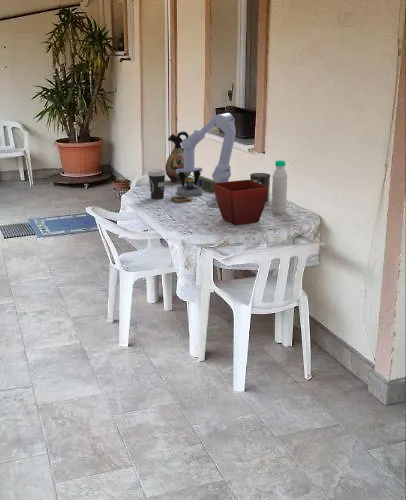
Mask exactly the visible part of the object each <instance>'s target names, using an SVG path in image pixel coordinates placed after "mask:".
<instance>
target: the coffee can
mask: <svg viewBox="0 0 406 500" xmlns="http://www.w3.org/2000/svg"><path fill="white" fill-rule="evenodd" d="M249 176H250V179H249V180H252V181H255V182H257V183H260V184H262V185H265V186H267V187H268V193H267V198H266V202H265V204H268V203H270V193H271V192H270V190H271V189H270V186H271V174H270V173H265V172H253V173H250V174H249Z"/></svg>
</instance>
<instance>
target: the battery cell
mask: <svg viewBox="0 0 406 500" xmlns="http://www.w3.org/2000/svg"><path fill="white" fill-rule="evenodd" d="M193 185H194V177H192V176H189V177H188V178H186V182H185V186H186V190H193Z"/></svg>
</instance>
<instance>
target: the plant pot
mask: <svg viewBox="0 0 406 500" xmlns="http://www.w3.org/2000/svg"><path fill="white" fill-rule="evenodd" d="M214 191H215V192H214V196H215V195H216V199H215V200H216V203H217V206H218V210H219V212H220V215H221V218H222V220H224V221H226V222H228V223H229V224H230V225H233V226H239V225H241V226H242V225H247V224H256V223H259V222H260V220H261V217H262V214H263V212H264V209H265V205H266V203H265V202H266V198H267V193H268V187H267V186H265V185H262V184H260V183H257V182H255V181H252V180H250V179H241V180H231V181H228V182H221V183H214Z"/></svg>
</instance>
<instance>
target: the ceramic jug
mask: <svg viewBox="0 0 406 500" xmlns="http://www.w3.org/2000/svg"><path fill="white" fill-rule="evenodd" d="M181 136H185V138H188V136H189V134H188V132H186V131H183V130H182V131H179V132H178V133H177V135H175V134H174V133H172V134H170V135H169V136H168V138H167V140H168V141H169V142H172V143H174V147H173V149H172V150H171V152H170V154H169V156H168V157H167V160H166V163H165V168H164V169H165V170H164V171H165V173H166V176H167V177H168V178H169V180H170V183H172V184H182V182H181V179H180V177H179V175H178V174H177V173H176V169H183V168H184V148H183V147H182V141H183V138H182V137H181ZM184 174H185V183H186V178H189V177H190V175H191V174H192V172H187V173H184Z"/></svg>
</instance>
